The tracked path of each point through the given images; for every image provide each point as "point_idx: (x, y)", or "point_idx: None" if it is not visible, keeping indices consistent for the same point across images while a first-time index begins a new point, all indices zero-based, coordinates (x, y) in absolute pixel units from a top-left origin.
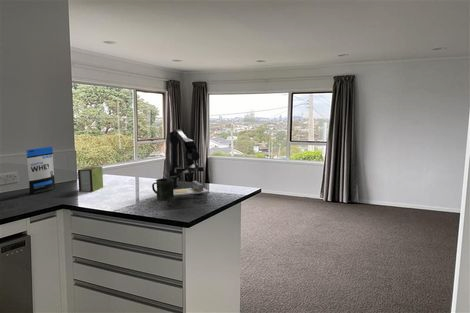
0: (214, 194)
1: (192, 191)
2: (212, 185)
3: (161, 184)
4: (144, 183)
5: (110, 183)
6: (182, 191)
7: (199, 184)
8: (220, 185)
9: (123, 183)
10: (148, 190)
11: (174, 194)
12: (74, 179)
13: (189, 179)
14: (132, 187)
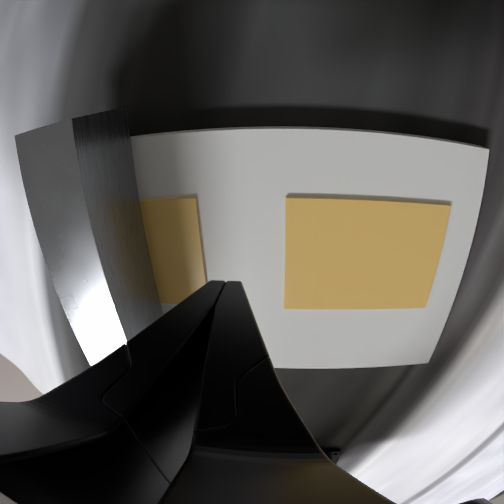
0: (16, 51)
1: (210, 201)
2: (45, 375)
3: None
4: (400, 494)
5: (480, 485)
6: (349, 243)
7: (58, 199)
8: (6, 348)
9: (455, 489)
10: (492, 405)
11: (482, 148)
12: (493, 498)
13: (214, 316)
14: (486, 453)
